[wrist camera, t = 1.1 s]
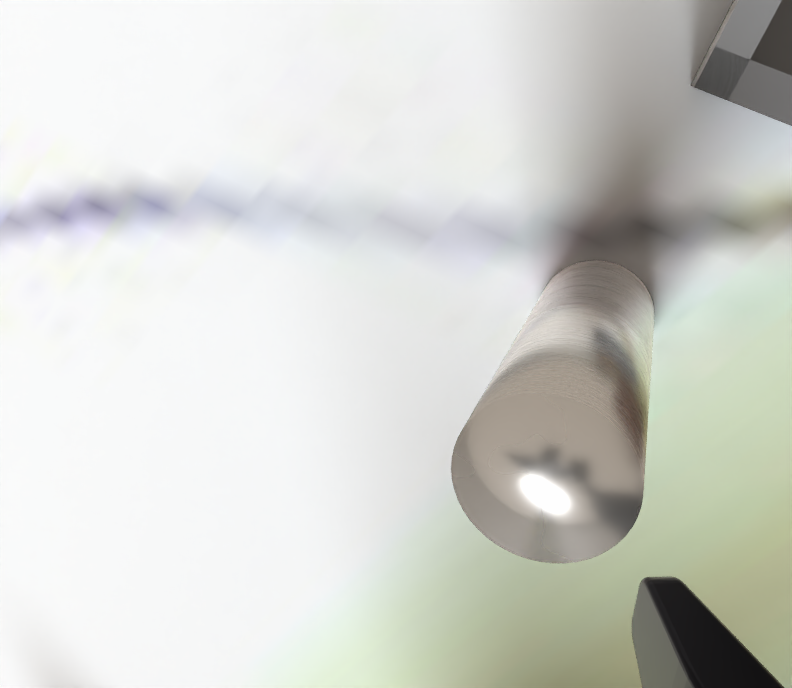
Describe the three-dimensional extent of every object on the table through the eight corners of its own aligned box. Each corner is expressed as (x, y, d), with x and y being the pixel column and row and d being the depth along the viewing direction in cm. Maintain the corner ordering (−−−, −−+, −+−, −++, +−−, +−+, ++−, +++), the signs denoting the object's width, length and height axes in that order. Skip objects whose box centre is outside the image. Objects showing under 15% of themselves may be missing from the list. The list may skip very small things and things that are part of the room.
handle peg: (675, 290, 19) (680, 451, 11) (621, 386, 20) (589, 594, 12) (567, 241, 19) (493, 361, 11) (520, 338, 20) (425, 507, 12)
